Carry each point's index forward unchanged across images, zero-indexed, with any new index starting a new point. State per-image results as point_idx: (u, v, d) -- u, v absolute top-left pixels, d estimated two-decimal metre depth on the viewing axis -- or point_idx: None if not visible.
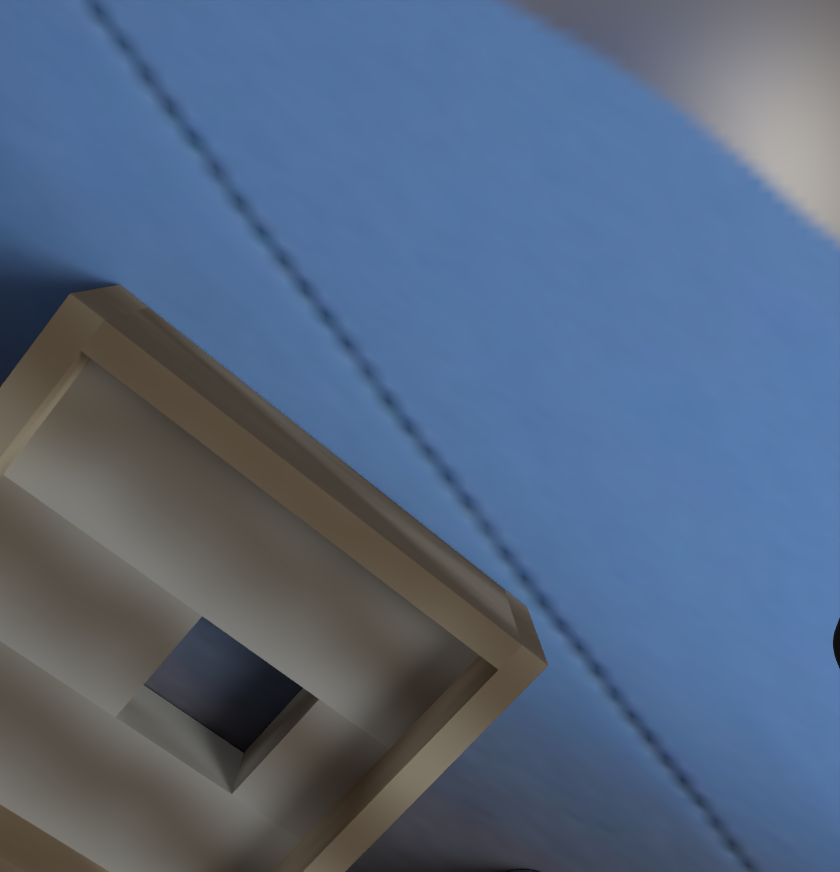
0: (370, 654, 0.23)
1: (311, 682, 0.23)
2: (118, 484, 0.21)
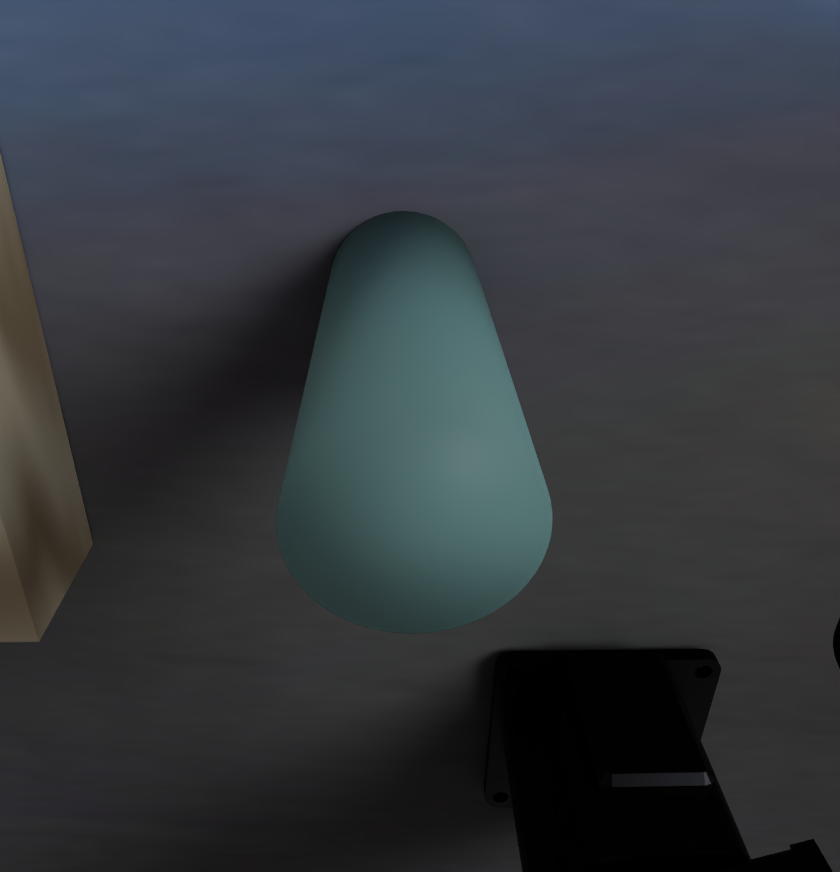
0: None
1: None
2: None
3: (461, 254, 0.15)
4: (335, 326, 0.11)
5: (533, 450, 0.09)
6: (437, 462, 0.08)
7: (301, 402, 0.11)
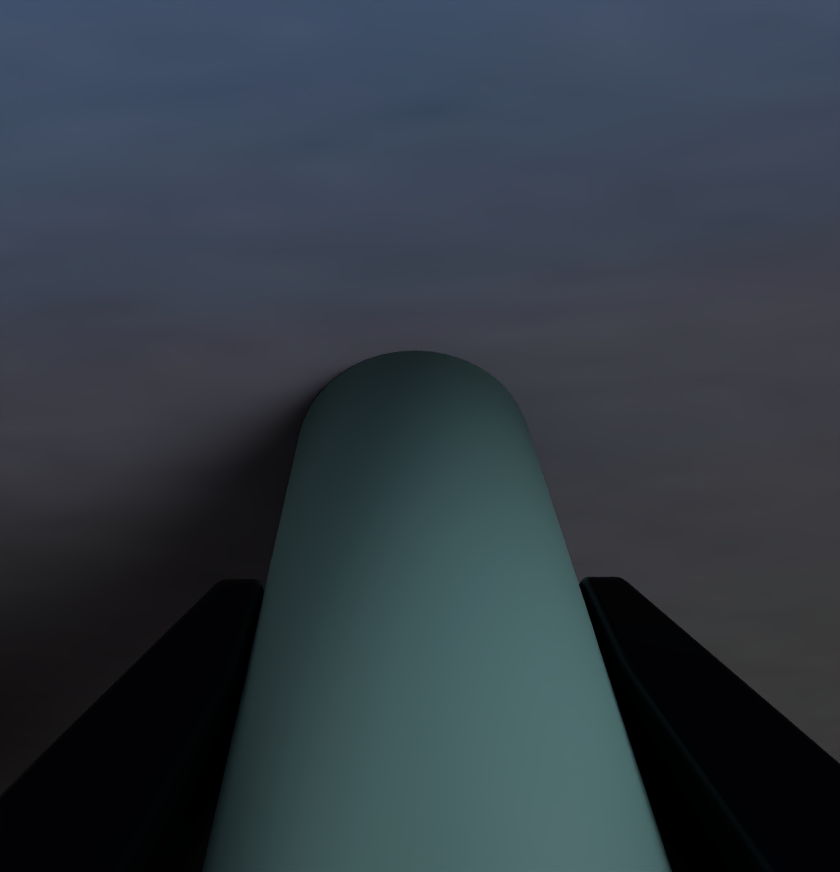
0: None
1: None
2: None
3: (516, 445, 0.08)
4: (272, 729, 0.05)
5: None
6: None
7: None
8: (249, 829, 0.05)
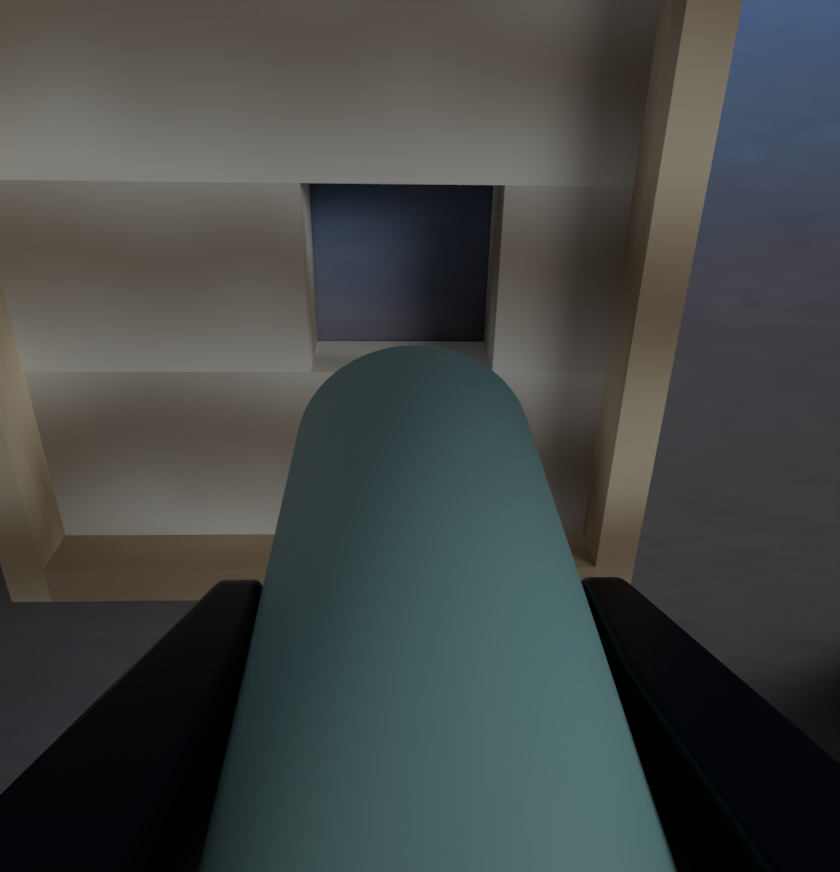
0: (524, 73, 0.15)
1: (480, 170, 0.16)
2: (82, 88, 0.15)
3: (517, 439, 0.08)
4: (270, 723, 0.05)
5: None
6: None
7: None
8: (247, 823, 0.04)
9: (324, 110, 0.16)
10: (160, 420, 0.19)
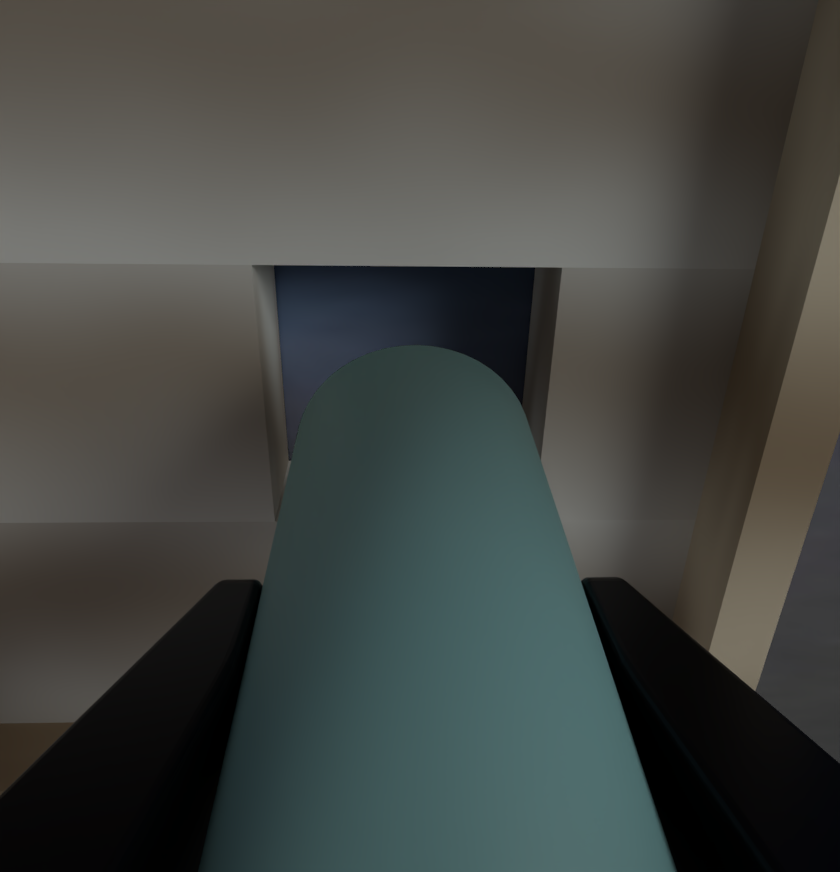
0: (598, 101, 0.10)
1: (526, 246, 0.11)
2: None
3: (517, 439, 0.08)
4: (270, 723, 0.05)
5: None
6: None
7: None
8: (247, 824, 0.04)
9: (287, 158, 0.10)
10: (64, 583, 0.13)
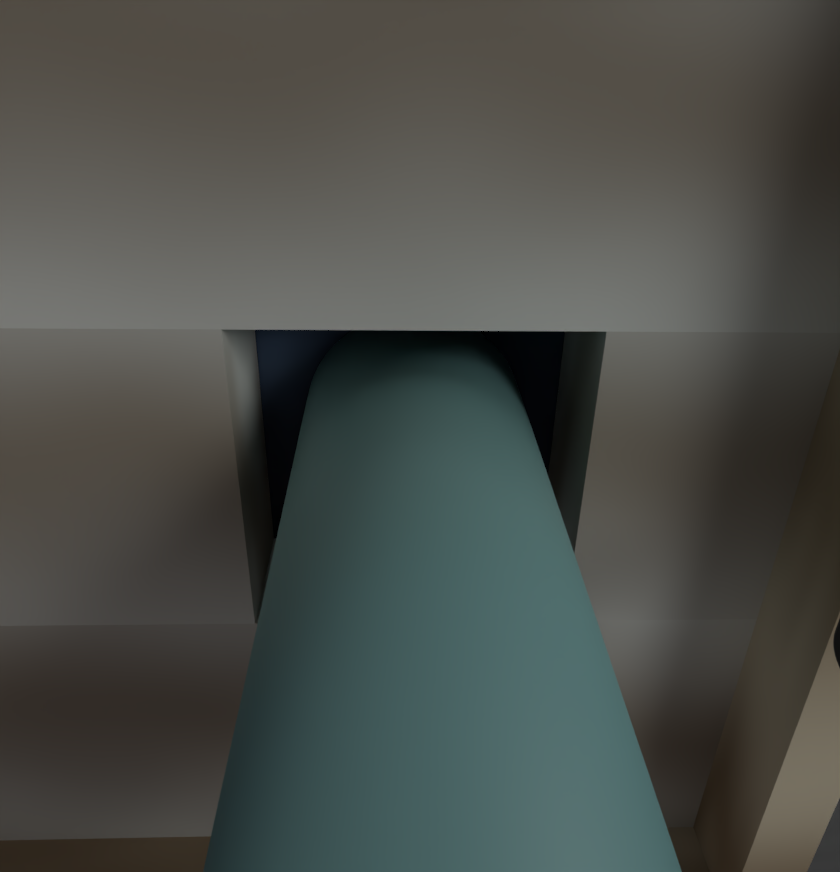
0: (658, 128, 0.08)
1: (562, 306, 0.09)
2: None
3: (505, 391, 0.09)
4: (295, 600, 0.06)
5: None
6: None
7: (222, 785, 0.05)
8: (279, 668, 0.06)
9: (263, 199, 0.08)
10: (5, 693, 0.11)
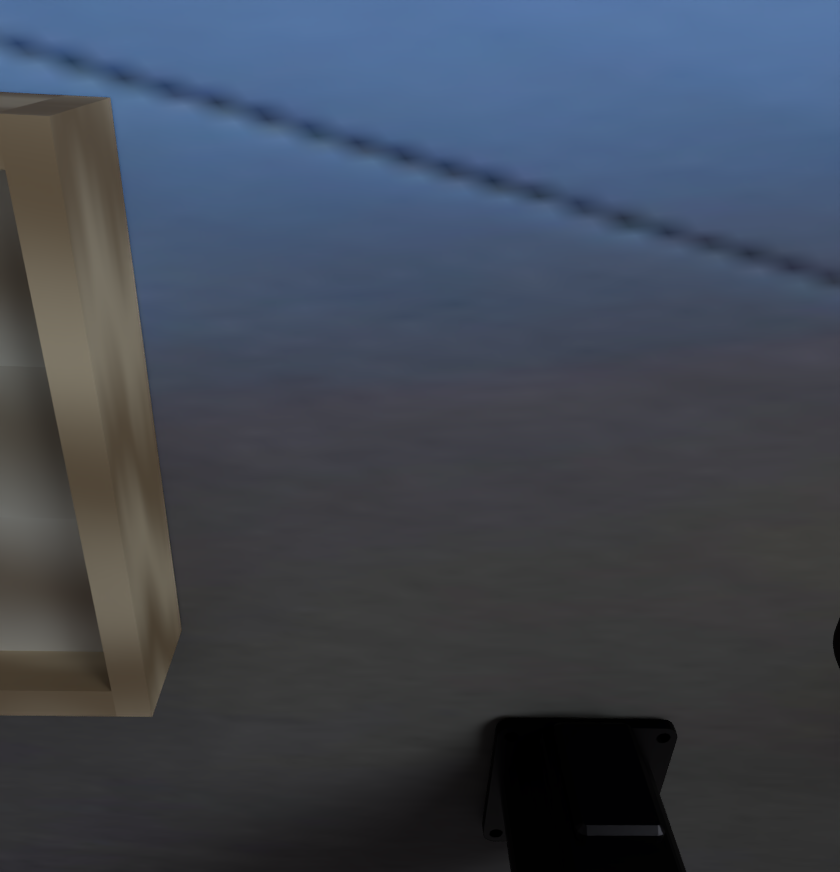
0: None
1: None
2: None
3: None
4: None
5: None
6: None
7: None
8: None
9: None
10: None
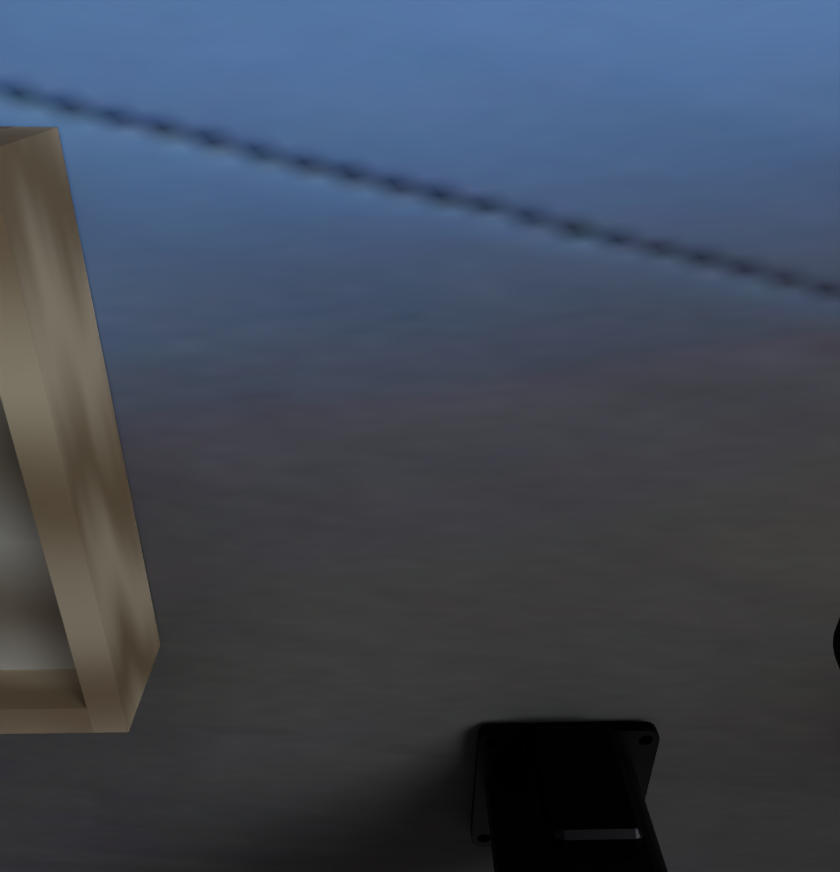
0: None
1: None
2: None
3: None
4: None
5: None
6: None
7: None
8: None
9: None
10: None
